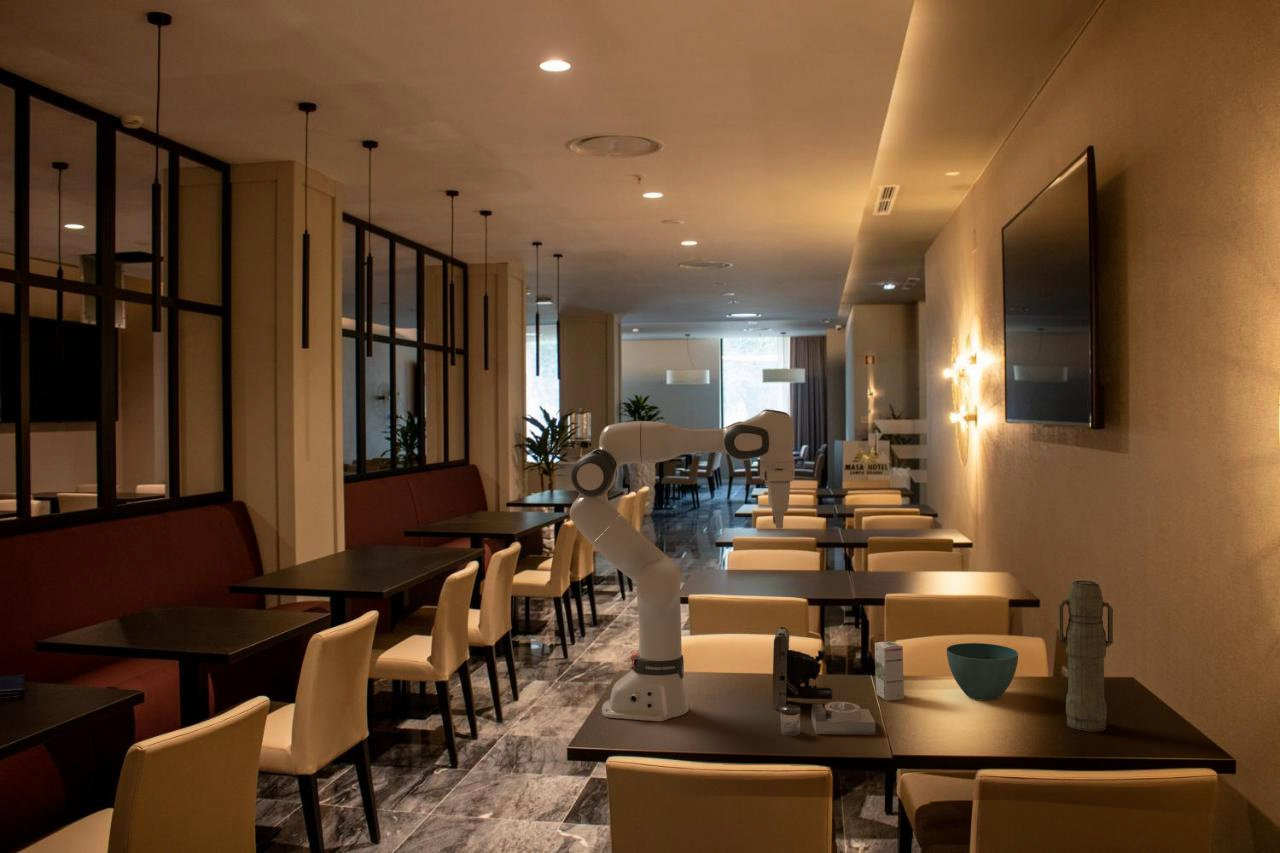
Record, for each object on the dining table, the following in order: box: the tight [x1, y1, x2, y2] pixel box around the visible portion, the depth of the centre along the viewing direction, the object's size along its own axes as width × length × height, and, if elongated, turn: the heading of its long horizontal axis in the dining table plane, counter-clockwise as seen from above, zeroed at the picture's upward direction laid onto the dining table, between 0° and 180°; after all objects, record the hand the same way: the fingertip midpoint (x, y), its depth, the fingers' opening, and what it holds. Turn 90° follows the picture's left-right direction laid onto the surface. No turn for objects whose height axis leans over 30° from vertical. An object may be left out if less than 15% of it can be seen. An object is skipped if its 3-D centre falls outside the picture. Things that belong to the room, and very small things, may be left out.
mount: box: [810, 701, 876, 736], centre depth 231 cm, size 14×10×5 cm
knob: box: [779, 704, 802, 737], centre depth 228 cm, size 5×5×6 cm
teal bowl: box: [946, 642, 1019, 701], centre depth 255 cm, size 18×18×12 cm
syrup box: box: [874, 640, 905, 702], centre depth 254 cm, size 6×6×14 cm
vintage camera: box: [771, 626, 833, 711], centre depth 248 cm, size 10×16×20 cm, turn 79°
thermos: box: [1058, 580, 1114, 733], centre depth 229 cm, size 9×12×35 cm
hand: (777, 526), depth 243 cm, fingers open, 8 cm apart
